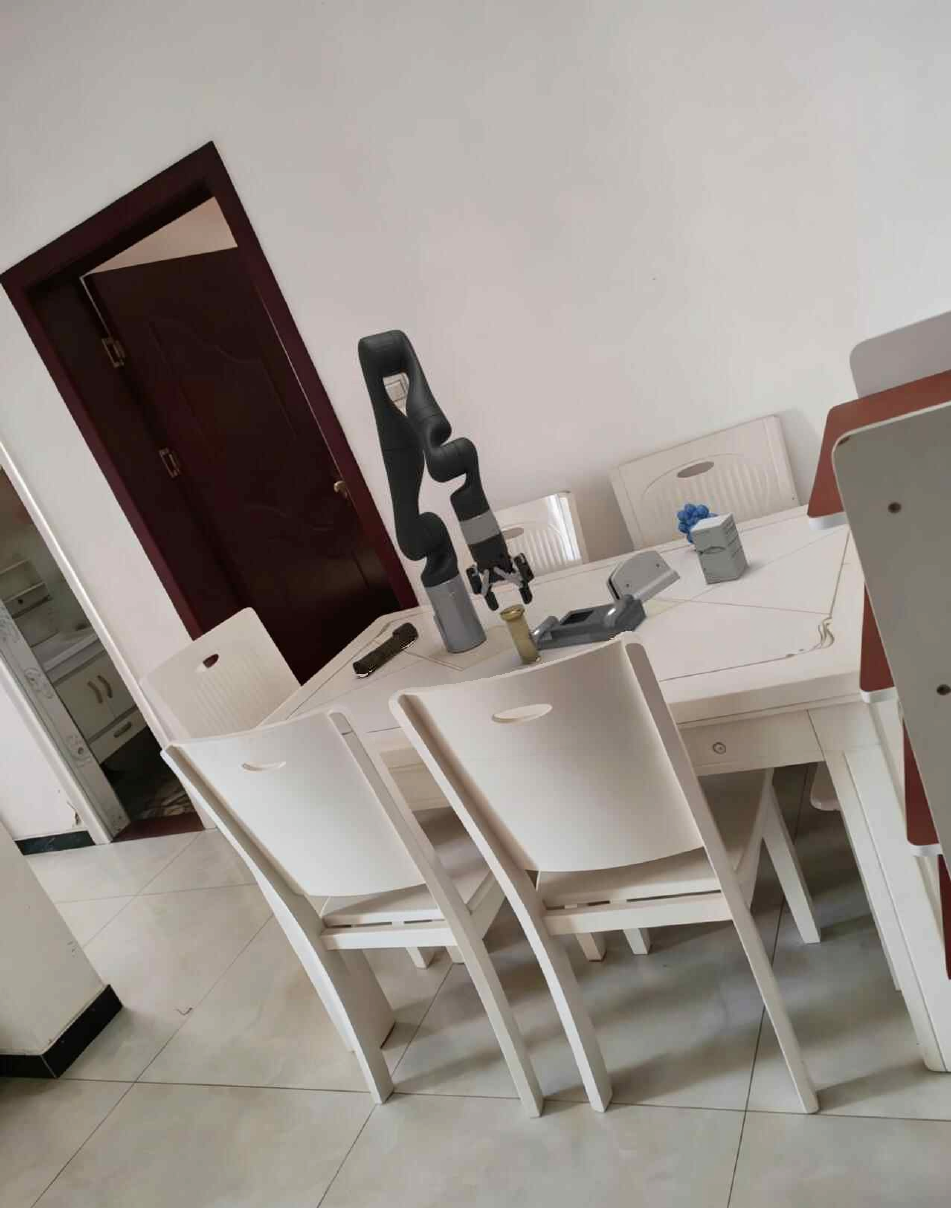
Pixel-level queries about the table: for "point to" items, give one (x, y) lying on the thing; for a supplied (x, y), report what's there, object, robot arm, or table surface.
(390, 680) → the table surface
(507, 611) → the brass pin
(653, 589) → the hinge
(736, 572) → the supplement box
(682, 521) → the grapes
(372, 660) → the hand tool
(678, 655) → the table surface
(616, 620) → the gray socket base
